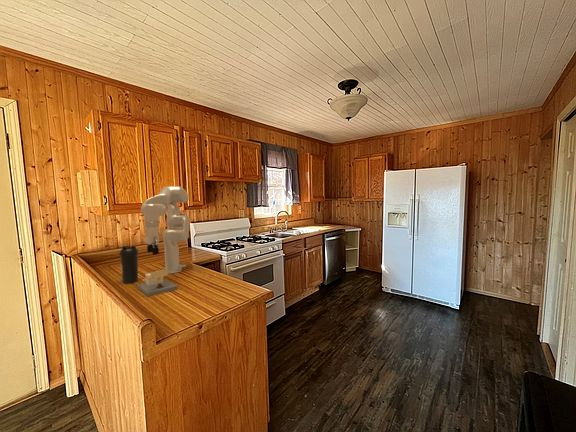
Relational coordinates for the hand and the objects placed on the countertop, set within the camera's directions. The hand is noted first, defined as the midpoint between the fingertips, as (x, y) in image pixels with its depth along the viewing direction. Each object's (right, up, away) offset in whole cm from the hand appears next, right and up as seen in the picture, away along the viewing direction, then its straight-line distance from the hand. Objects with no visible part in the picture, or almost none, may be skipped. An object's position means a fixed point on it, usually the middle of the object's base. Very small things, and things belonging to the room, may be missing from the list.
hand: (153, 253), depth 153 cm
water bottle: (-21, -20, +12) cm, 31 cm away
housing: (+4, -20, -2) cm, 21 cm away
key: (+6, -18, -8) cm, 21 cm away
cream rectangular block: (0, -18, +1) cm, 18 cm away
